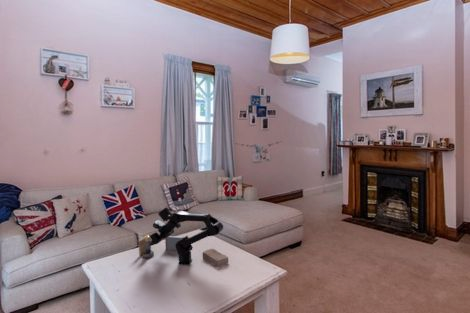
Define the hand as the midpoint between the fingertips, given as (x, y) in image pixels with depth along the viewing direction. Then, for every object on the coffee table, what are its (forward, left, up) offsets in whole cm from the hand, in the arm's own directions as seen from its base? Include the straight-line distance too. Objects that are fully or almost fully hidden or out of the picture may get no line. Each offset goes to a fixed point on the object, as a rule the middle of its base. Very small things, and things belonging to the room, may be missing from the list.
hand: (154, 242), depth 177 cm
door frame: (-1, -13, -10) cm, 16 cm away
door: (+10, -5, -9) cm, 15 cm away
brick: (-39, -3, -10) cm, 40 cm away
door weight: (+5, -1, -10) cm, 11 cm away
